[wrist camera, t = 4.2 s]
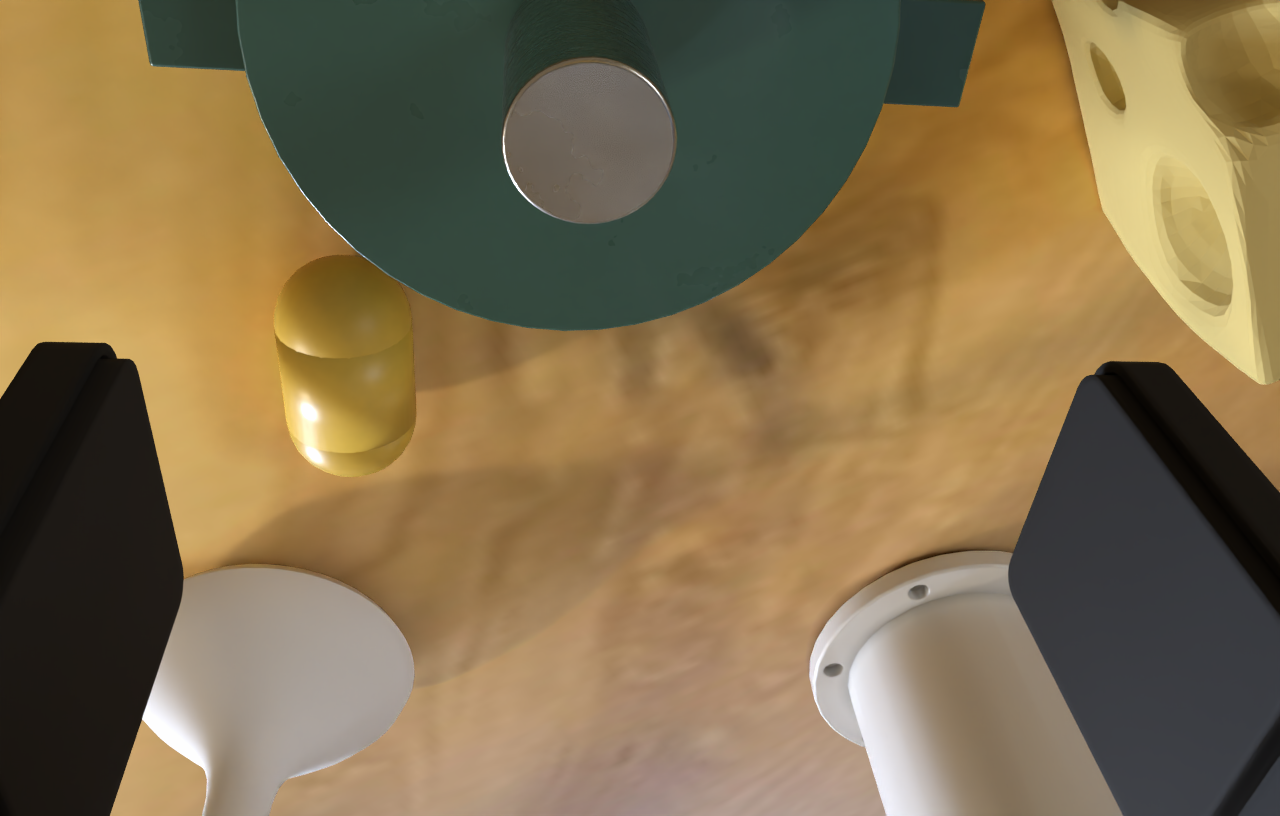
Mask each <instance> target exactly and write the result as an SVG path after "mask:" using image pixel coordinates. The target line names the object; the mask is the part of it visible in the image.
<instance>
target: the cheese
mask: <svg viewBox="0 0 1280 816" xmlns="http://www.w3.org/2000/svg"><path fill="white" fill-rule="evenodd" d="M1052 3H1053V6H1054V9H1055V12H1056V14H1057V17H1058V20H1059V23H1060V26H1061V29H1062V33H1063V36H1064V40H1065V43H1066V47H1067V51H1068V55H1069V59H1070V62H1071V67H1072V72H1073V77H1074V82H1075V86H1076V91H1077V95H1078V99H1079V104H1080V108H1081V113H1082V117H1083V122H1084V126H1085V131H1086V135H1087V140H1088V144H1089V149H1090V153H1091V158H1092V163H1093V168H1094V173H1095V178H1096V183H1097V188H1098V193H1099V197H1100V201H1101V206H1102V210H1103V212H1104V213H1105V215H1106V216H1107V218H1108V219H1109V221H1110V223H1111V224H1112V226H1113V228H1114V229H1115V231H1116V233H1117V234H1118V236H1119V238H1120V239H1121V241H1122V243H1123V244H1124V246H1125V248H1126V249H1127V251H1128V252H1129V254H1130V255H1131V257H1132V258H1133V259H1134V261H1135V262H1136V264H1137V265H1138V266H1139V268H1140V269H1141V270H1142V271H1143V273H1144V274H1145V275H1146V277H1147V278H1148V279H1149V280H1150V282H1151V283H1152V284H1153V286H1154V287H1155V288H1156V289H1157V291H1158V292H1159V293H1160V294H1161V296H1162V297H1163V298H1164V299H1165V301H1166V302H1167V303H1168V304H1169V306H1170V307H1171V308H1172V309H1173V310H1174V312H1175V313H1176V314H1177V315H1178V316H1179V317H1180V318H1181V319H1182V320H1183V321H1184V322H1185V323H1186V324H1187V325H1188V326H1189V327H1190V328H1191V329H1192V330H1193V331H1194V332H1195V333H1196V334H1197V335H1198V336H1199V337H1201V338H1202V339H1203V340H1204V341H1205V342H1206V343H1207V344H1209V345H1210V346H1211V347H1212V348H1213V349H1215V350H1216V351H1217V352H1218V353H1220V354H1221V355H1222V356H1224V357H1225V358H1226V359H1227V360H1229V361H1230V362H1231V363H1232V364H1233V365H1235V366H1236V367H1237V368H1238V369H1240V370H1241V371H1242V372H1244V373H1245V374H1246V375H1248V376H1249V377H1250V378H1252V379H1253V380H1255V381H1256V382H1258V383H1259V384H1271V383H1274V382H1276V381H1278V380H1280V0H1052Z"/></svg>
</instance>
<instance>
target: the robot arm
mask: <svg viewBox="0 0 1280 816" xmlns="http://www.w3.org/2000/svg"><path fill="white" fill-rule="evenodd" d="M183 581H184V580H183V567H182V562H181V557H180V553H179V549H178V544H177V540H176V535H175V531H174V527H173V522H172V518H171V514H170V509H169V505H168V500H167V496H166V492H165V487H164V483H163V479H162V474H161V470H160V465H159V461H158V457H157V452H156V448H155V444H154V439H153V435H152V430H151V426H150V422H149V417H148V413H147V409H146V404H145V400H144V395H143V391H142V387H141V382H140V378H139V374H138V370H137V367H136V365H135V364H134V362H133V361H132V360H130V359H117V357H116V354H115V352H114V351H113V349H112V347H111V346H110V345H108V344H106V343H76V342H42V343H38V344H37V345H36V346H35V347H34V348H33V349H32V351H31V353H30V354H29V356H28V357H27V359H26V360H25V362H24V363H23V365H22V366H21V368H20V369H19V371H18V373H17V374H16V376H15V377H14V379H13V380H12V382H11V383H10V385H9V386H8V388H7V389H6V391H5V393H4V394H3V396H2V397H1V399H0V816H110V813H111V810H112V807H113V804H114V801H115V798H116V795H117V792H118V789H119V786H120V783H121V780H122V777H123V774H124V771H125V768H126V765H127V762H128V759H129V756H130V753H131V750H132V747H133V744H134V741H135V738H136V735H137V732H138V729H139V726H140V723H141V721H142V718H143V715H144V712H145V709H146V706H147V703H148V700H149V697H150V694H151V691H152V688H153V685H154V682H155V679H156V676H157V673H158V670H159V667H160V664H161V661H162V658H163V655H164V652H165V649H166V646H167V643H168V640H169V637H170V634H171V631H172V628H173V625H174V622H175V619H176V616H177V613H178V610H179V607H180V603H181V599H182V593H183ZM809 678H810V682H811V686H812V690H813V695H814V699H815V702H816V704H817V706H818V709H819V711H820V714H821V715H822V717H823V718H824V719H825V720H826V721H827V723H828V724H829V725H830V726H831V728H832V729H834V730H835V731H836V732H838V733H839V734H841V735H842V736H843V737H845V738H846V739H848V740H850V741H852V742H854V743H856V744H858V745H860V746H863V747H866V750H867V754H868V757H869V760H870V763H871V767H872V770H873V773H874V776H875V780H876V783H877V786H878V789H879V793H880V796H881V799H882V802H883V806H884V809H885V812H886V815H887V816H1280V492H1279V491H1278V490H1277V489H1276V488H1275V487H1274V486H1273V484H1272V483H1271V482H1270V481H1269V480H1268V479H1267V478H1266V476H1265V475H1264V474H1263V473H1262V472H1261V471H1260V469H1259V468H1258V467H1257V466H1256V465H1255V464H1254V463H1253V461H1252V460H1251V459H1250V458H1249V457H1248V456H1247V454H1246V453H1245V452H1244V451H1243V450H1242V449H1241V448H1240V446H1239V445H1238V444H1237V443H1236V442H1235V441H1234V439H1233V438H1232V437H1231V436H1230V435H1229V434H1228V433H1227V431H1226V430H1225V429H1224V428H1223V427H1222V426H1221V424H1220V423H1219V422H1218V421H1217V420H1216V419H1215V418H1214V416H1213V415H1212V414H1211V413H1210V412H1209V411H1208V409H1207V408H1206V407H1205V406H1204V405H1203V404H1202V403H1201V401H1200V400H1199V399H1198V398H1197V397H1196V396H1195V394H1194V393H1193V392H1192V391H1191V390H1190V389H1189V388H1188V386H1187V385H1186V384H1185V383H1184V382H1183V381H1182V379H1181V378H1180V377H1179V376H1178V375H1177V374H1176V373H1175V371H1174V370H1173V369H1172V368H1170V367H1169V366H1168V365H1167V364H1164V363H1159V362H1119V361H1110V362H1107V363H1104V364H1102V365H1101V366H1100V367H1099V368H1098V369H1097V371H1096V373H1095V374H1094V375H1089V376H1086V377H1085V378H1084V379H1083V380H1082V381H1081V383H1080V385H1079V386H1078V388H1077V391H1076V394H1075V396H1074V399H1073V401H1072V404H1071V406H1070V409H1069V411H1068V414H1067V416H1066V419H1065V422H1064V424H1063V427H1062V429H1061V432H1060V434H1059V437H1058V439H1057V442H1056V445H1055V447H1054V450H1053V452H1052V455H1051V457H1050V460H1049V462H1048V465H1047V468H1046V470H1045V473H1044V475H1043V478H1042V480H1041V483H1040V485H1039V488H1038V490H1037V493H1036V496H1035V498H1034V501H1033V503H1032V506H1031V508H1030V511H1029V513H1028V516H1027V519H1026V521H1025V524H1024V526H1023V529H1022V531H1021V534H1020V536H1019V539H1018V541H1017V544H1016V547H1015V549H1014V552H1013V553H1009V552H1003V551H964V552H957V553H950V554H943V555H939V556H935V557H932V558H928V559H924V560H921V561H917V562H914V563H911V564H909V565H907V566H904V567H902V568H900V569H897V570H895V571H892V572H890V573H888V574H886V575H884V576H883V577H881V578H879V579H878V580H876V581H874V582H872V583H871V584H869V585H867V586H866V587H864V588H863V589H862V590H860V591H859V592H858V593H857V594H855V595H854V596H853V597H852V598H850V599H849V600H848V601H847V602H845V603H844V604H843V605H842V606H841V607H840V608H839V610H838V611H837V612H836V613H835V614H834V615H833V616H832V617H831V618H830V620H829V621H828V622H827V623H826V625H825V627H824V628H823V630H822V632H821V633H820V635H819V637H818V638H817V640H816V643H815V646H814V649H813V652H812V655H811V658H810V672H809Z"/></svg>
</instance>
